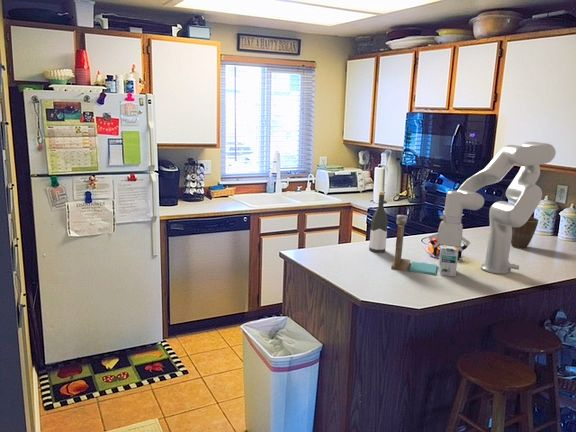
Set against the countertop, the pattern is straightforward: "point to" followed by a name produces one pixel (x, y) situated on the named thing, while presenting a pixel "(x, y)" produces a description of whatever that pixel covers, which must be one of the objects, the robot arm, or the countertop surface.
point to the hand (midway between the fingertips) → (446, 257)
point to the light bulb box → (448, 260)
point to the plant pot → (524, 233)
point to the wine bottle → (379, 227)
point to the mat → (423, 268)
